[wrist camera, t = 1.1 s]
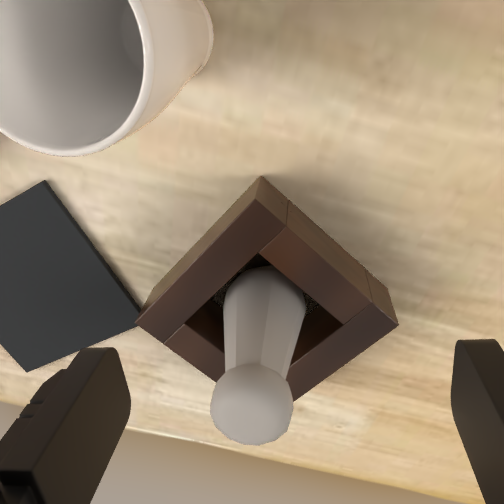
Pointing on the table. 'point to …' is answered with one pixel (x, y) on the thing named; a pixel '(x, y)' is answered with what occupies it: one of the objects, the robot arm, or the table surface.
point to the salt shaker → (258, 356)
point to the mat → (54, 283)
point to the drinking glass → (94, 68)
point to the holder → (292, 266)
